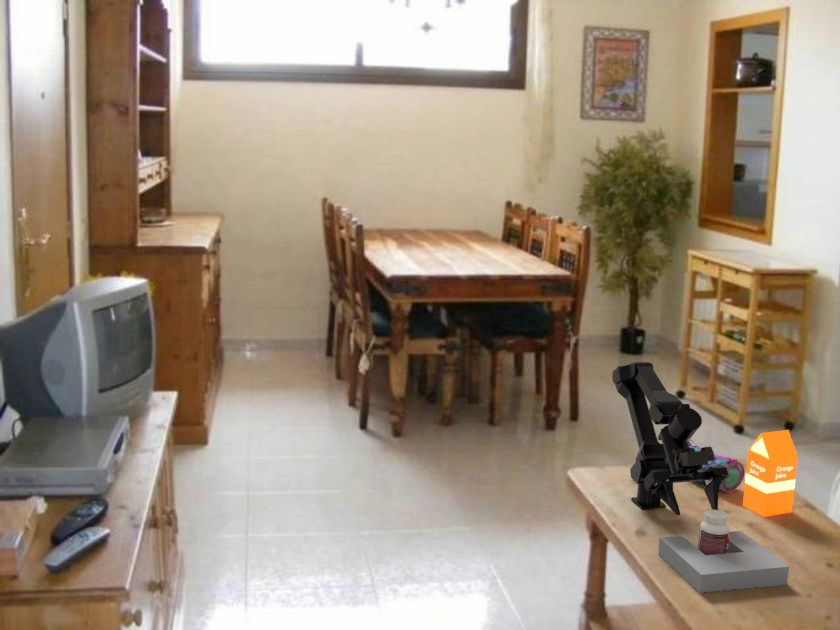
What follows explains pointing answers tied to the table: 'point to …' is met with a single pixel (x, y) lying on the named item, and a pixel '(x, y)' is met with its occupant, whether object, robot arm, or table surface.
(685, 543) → the notched board
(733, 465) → the pencil case
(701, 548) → the pill bottle
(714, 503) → the robot arm
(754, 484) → the orange juice
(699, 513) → the table surface
